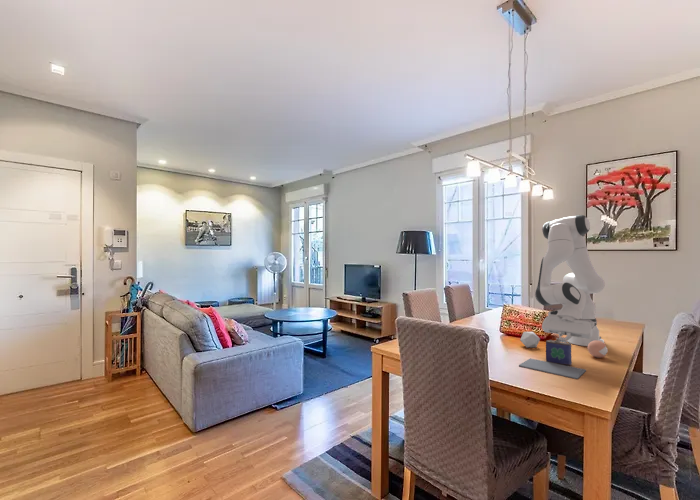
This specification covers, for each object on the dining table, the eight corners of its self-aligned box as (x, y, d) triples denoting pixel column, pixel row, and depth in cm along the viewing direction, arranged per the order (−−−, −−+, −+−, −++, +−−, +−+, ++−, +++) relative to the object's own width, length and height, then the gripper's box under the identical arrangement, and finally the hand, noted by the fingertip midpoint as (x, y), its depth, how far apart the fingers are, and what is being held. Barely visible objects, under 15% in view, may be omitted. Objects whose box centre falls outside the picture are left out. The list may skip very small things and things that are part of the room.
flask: (572, 365, 151) (571, 338, 151) (571, 366, 148) (570, 340, 148) (546, 360, 157) (546, 335, 157) (545, 362, 155) (544, 337, 155)
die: (538, 351, 175) (544, 334, 178) (522, 342, 176) (529, 326, 180) (530, 352, 182) (536, 336, 186) (515, 344, 184) (521, 328, 187)
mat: (530, 359, 159) (530, 358, 159) (586, 370, 143) (586, 369, 143) (518, 366, 149) (518, 365, 149) (577, 379, 133) (577, 378, 133)
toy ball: (608, 360, 156) (608, 343, 157) (588, 358, 161) (587, 341, 161) (606, 356, 163) (606, 339, 163) (587, 354, 167) (586, 337, 168)
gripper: (597, 324, 157) (590, 350, 150) (548, 318, 172) (541, 341, 166) (593, 316, 154) (587, 341, 147) (545, 311, 170) (537, 333, 163)
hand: (562, 341), depth 157 cm, fingers closed
